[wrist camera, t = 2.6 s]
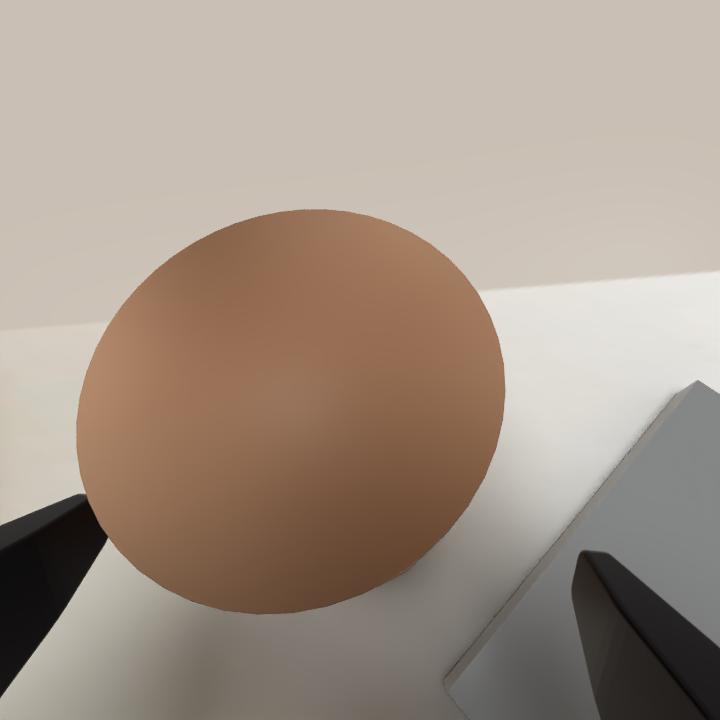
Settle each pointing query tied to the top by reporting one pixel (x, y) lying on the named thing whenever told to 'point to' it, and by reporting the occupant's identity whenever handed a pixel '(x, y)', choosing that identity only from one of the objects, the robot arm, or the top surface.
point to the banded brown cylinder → (290, 411)
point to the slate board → (630, 547)
